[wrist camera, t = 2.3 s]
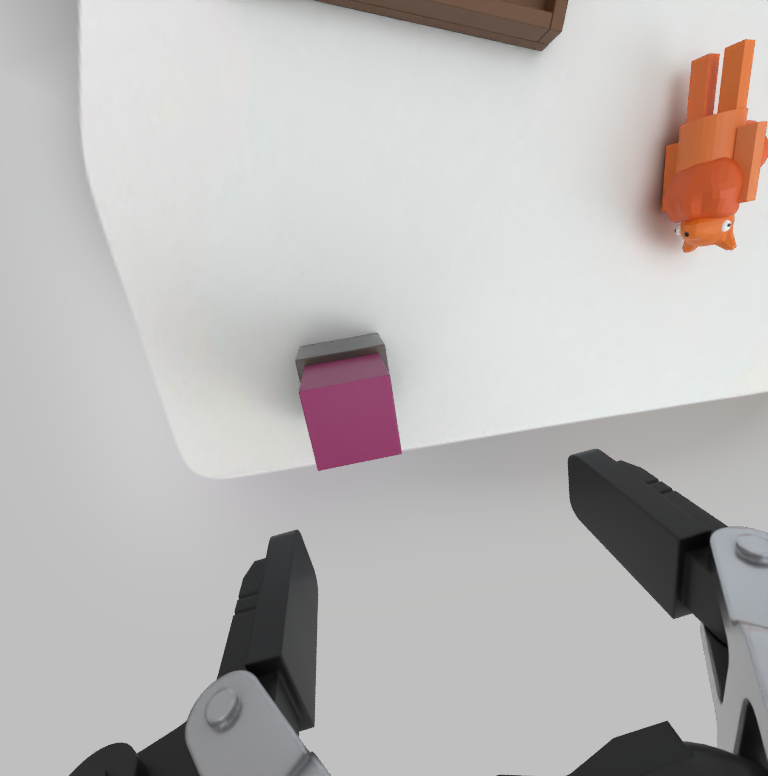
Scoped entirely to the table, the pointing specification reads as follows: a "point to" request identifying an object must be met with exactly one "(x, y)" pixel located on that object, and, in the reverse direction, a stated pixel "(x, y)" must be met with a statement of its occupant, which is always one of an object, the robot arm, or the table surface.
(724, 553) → the robot arm
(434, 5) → the tray
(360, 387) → the mulberry block
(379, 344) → the dark brown block
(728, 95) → the orange toy animal
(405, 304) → the table surface
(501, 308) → the table surface
